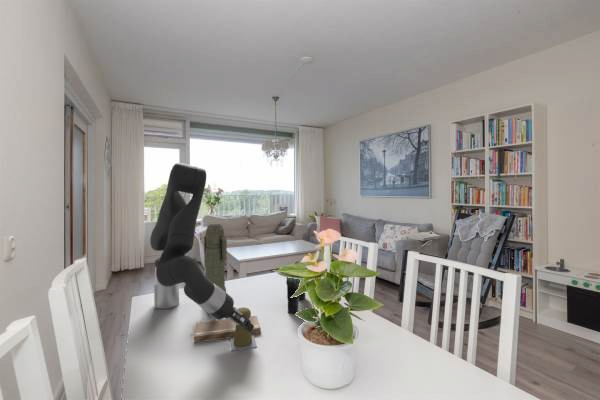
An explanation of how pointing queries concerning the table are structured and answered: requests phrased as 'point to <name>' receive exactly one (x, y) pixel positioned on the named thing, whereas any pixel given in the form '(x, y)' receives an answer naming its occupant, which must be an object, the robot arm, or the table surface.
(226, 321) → the walnut board
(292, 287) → the ceramic cat
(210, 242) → the thermos
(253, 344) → the slate end mark
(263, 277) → the table surface
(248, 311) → the olive game pawn
